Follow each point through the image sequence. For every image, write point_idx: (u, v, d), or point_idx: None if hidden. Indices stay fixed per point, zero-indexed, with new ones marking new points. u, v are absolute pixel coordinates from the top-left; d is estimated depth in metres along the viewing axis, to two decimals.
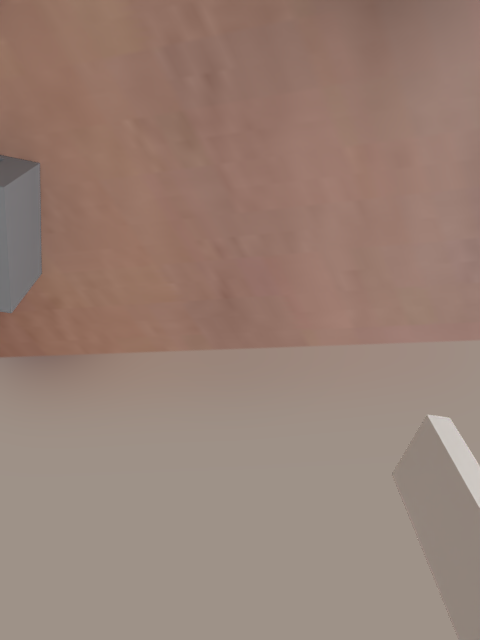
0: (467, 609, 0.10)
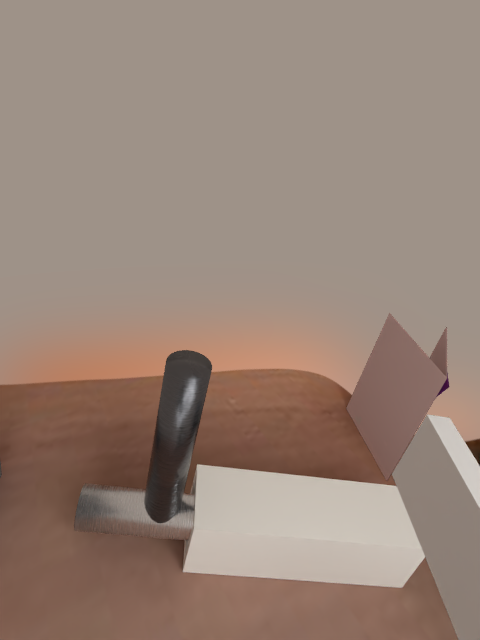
0: (467, 609, 0.10)
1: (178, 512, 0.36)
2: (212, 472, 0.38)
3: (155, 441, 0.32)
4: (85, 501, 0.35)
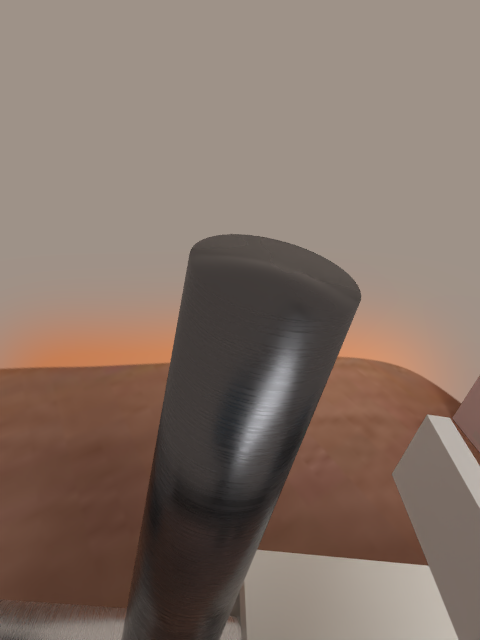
0: (467, 609, 0.10)
1: None
2: (278, 569, 0.17)
3: (147, 530, 0.10)
4: None
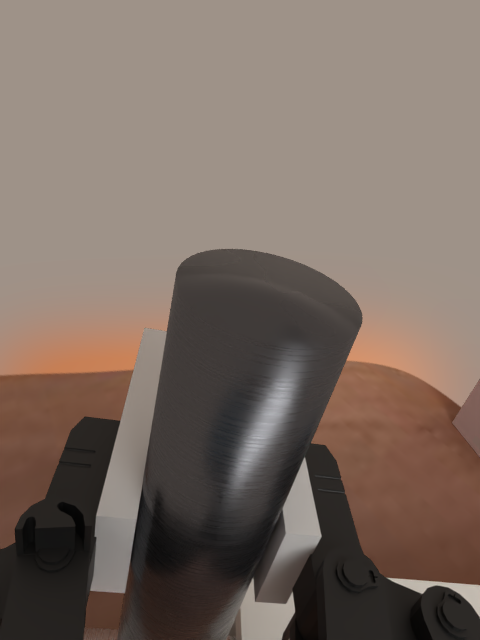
0: None
1: None
2: None
3: (136, 560, 0.10)
4: None
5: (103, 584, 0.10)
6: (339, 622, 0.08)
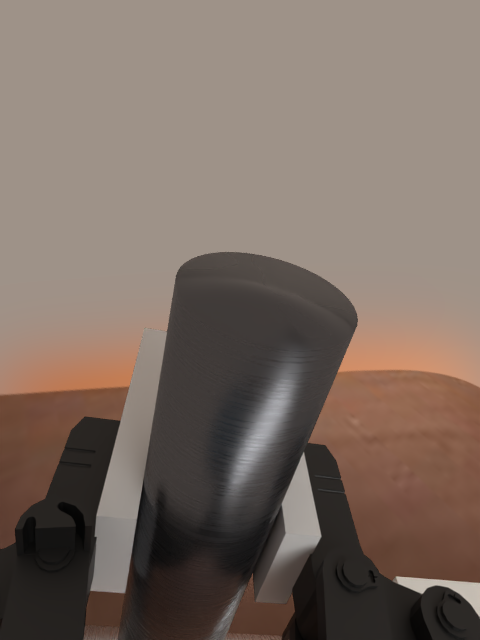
0: None
1: None
2: None
3: (137, 558, 0.10)
4: None
5: (103, 584, 0.10)
6: (339, 622, 0.08)
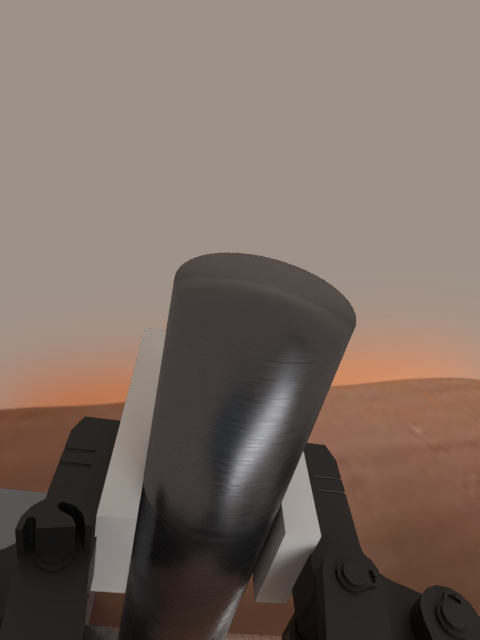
0: None
1: None
2: None
3: (136, 558, 0.10)
4: None
5: (103, 584, 0.10)
6: (339, 622, 0.08)
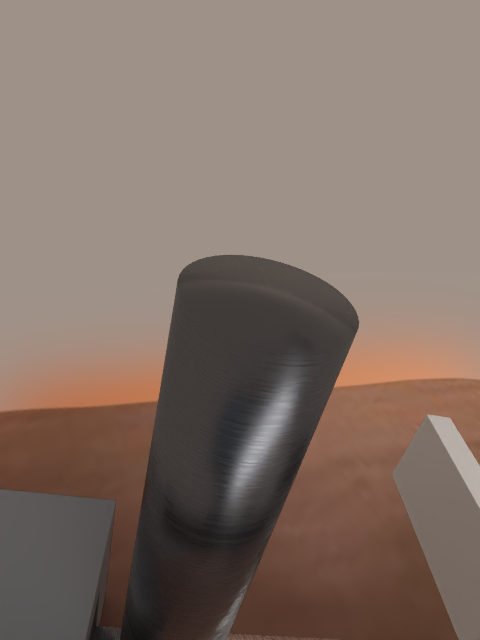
0: (467, 609, 0.10)
1: None
2: None
3: (139, 559, 0.10)
4: None
5: None
6: None
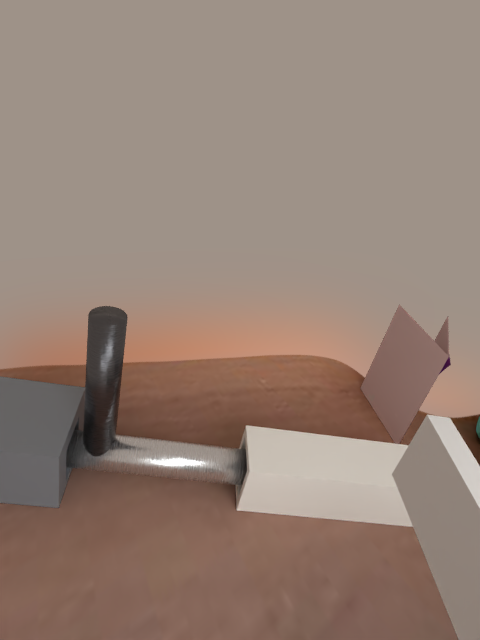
0: (467, 609, 0.10)
1: (111, 448, 0.43)
2: (258, 431, 0.47)
3: (86, 382, 0.39)
4: None
5: None
6: None
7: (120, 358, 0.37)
